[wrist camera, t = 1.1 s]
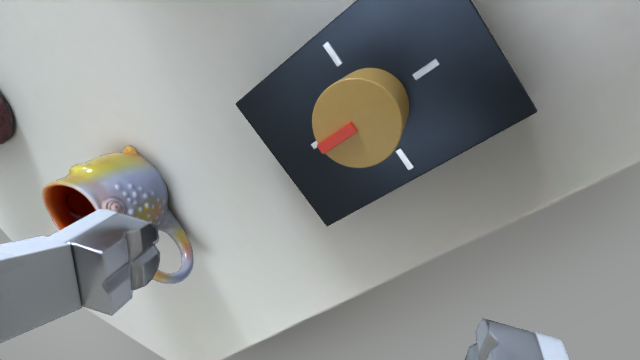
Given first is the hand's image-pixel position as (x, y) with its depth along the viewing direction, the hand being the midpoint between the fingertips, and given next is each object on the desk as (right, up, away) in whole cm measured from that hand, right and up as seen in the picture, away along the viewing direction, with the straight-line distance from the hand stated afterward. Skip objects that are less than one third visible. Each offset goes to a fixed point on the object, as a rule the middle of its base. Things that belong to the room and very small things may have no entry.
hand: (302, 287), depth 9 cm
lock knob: (+3, +7, +12) cm, 14 cm away
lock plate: (+4, +8, +15) cm, 17 cm away
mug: (-14, 0, +24) cm, 28 cm away
